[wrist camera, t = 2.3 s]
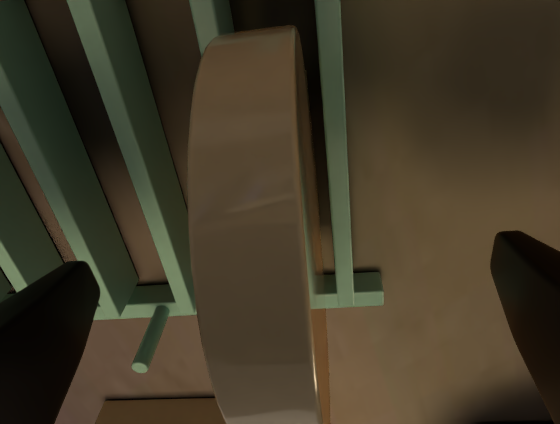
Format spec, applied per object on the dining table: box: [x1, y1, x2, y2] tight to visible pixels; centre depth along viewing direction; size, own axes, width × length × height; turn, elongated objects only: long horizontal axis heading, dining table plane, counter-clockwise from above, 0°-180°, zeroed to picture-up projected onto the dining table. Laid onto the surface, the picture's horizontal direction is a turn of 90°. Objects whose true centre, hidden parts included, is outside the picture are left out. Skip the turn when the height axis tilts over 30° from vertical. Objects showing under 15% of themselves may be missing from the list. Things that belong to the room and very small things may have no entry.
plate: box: [187, 25, 330, 424], centre depth 10 cm, size 2×9×10 cm, turn 8°
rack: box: [0, 0, 384, 373], centre depth 13 cm, size 18×13×4 cm
